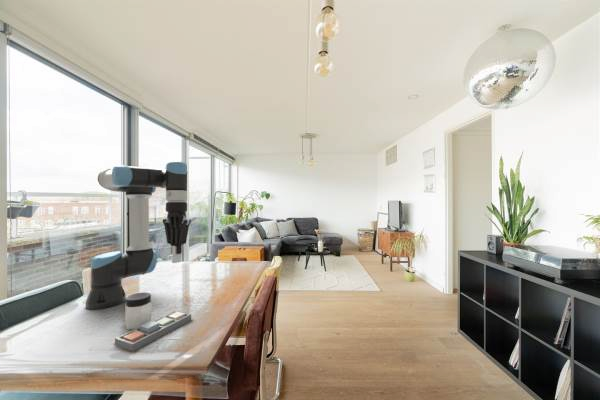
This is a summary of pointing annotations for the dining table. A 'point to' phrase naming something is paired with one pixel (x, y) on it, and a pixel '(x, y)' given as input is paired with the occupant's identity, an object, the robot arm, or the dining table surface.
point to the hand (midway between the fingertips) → (176, 262)
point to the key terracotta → (134, 336)
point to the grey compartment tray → (154, 335)
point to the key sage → (165, 321)
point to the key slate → (149, 327)
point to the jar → (138, 310)
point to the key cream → (176, 315)
